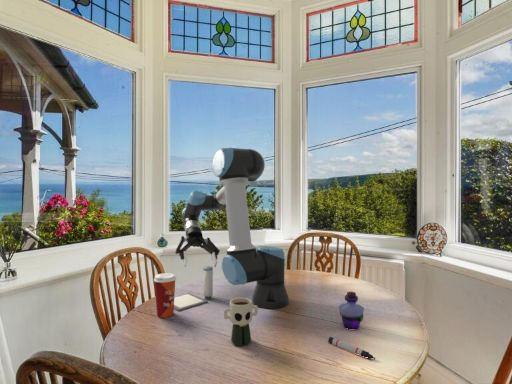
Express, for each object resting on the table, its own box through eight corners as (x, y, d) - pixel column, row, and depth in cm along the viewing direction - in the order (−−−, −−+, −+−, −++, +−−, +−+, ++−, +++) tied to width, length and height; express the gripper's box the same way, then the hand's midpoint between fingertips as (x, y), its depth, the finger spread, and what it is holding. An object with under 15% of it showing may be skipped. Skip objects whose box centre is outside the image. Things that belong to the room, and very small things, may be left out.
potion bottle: (365, 333, 112) (366, 297, 112) (339, 331, 114) (339, 295, 114) (362, 322, 121) (362, 289, 120) (337, 320, 122) (337, 288, 122)
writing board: (207, 302, 141) (207, 300, 141) (178, 311, 132) (178, 309, 132) (189, 294, 151) (189, 292, 151) (160, 302, 142) (160, 300, 142)
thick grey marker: (214, 298, 146) (214, 267, 146) (207, 300, 143) (206, 269, 143) (209, 296, 149) (209, 265, 149) (201, 298, 146) (201, 267, 146)
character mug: (226, 350, 101) (226, 307, 101) (221, 339, 108) (221, 299, 108) (261, 345, 104) (260, 303, 104) (254, 335, 111) (254, 296, 111)
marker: (328, 344, 105) (328, 337, 105) (331, 342, 107) (331, 335, 107) (373, 363, 94) (373, 356, 94) (377, 361, 95) (377, 354, 95)
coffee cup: (170, 319, 123) (170, 279, 123) (149, 318, 125) (149, 278, 125) (180, 311, 132) (179, 273, 131) (160, 309, 133) (160, 272, 133)
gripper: (215, 238, 171) (225, 270, 155) (165, 236, 160) (170, 270, 144) (219, 227, 167) (230, 259, 151) (169, 224, 157) (174, 257, 141)
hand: (201, 264), depth 148 cm, fingers open, 13 cm apart
